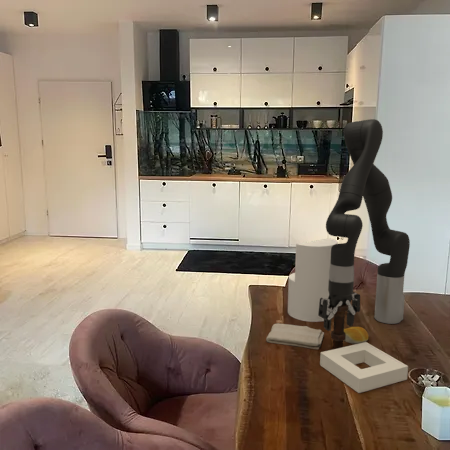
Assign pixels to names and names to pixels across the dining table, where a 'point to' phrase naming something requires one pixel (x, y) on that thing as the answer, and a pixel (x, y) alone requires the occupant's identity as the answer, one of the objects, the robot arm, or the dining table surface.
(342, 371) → the collar block
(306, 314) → the cylinder
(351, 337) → the bread roll
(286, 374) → the dining table surface
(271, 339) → the washcloth
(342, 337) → the bolt
